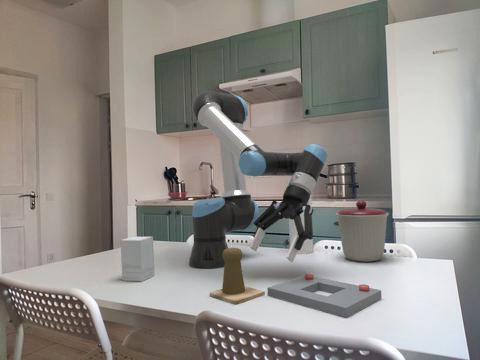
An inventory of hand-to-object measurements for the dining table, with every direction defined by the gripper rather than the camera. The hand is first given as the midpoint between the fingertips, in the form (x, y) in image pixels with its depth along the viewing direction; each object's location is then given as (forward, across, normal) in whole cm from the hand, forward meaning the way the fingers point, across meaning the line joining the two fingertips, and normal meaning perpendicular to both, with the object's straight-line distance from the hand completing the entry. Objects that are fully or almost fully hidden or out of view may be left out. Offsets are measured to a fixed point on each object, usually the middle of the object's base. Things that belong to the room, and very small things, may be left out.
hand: (270, 254), depth 98 cm
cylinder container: (-16, -21, +42) cm, 50 cm away
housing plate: (+5, +17, +4) cm, 19 cm away
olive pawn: (+14, -1, -6) cm, 15 cm away
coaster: (+14, 0, -6) cm, 15 cm away
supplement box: (+22, -36, -11) cm, 43 cm away
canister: (-19, +4, +42) cm, 46 cm away
